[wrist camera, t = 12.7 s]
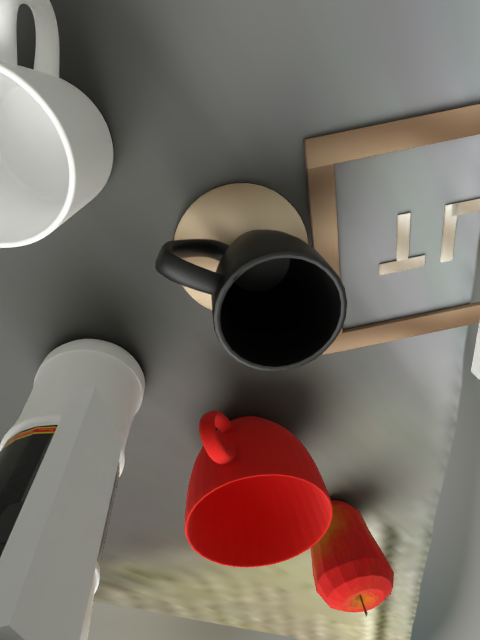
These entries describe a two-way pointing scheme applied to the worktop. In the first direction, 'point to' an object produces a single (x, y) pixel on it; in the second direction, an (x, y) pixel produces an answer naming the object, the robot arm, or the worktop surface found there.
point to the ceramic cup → (253, 494)
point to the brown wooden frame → (324, 216)
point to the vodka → (47, 409)
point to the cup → (44, 135)
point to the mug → (263, 295)
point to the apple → (350, 563)
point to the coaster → (235, 221)
